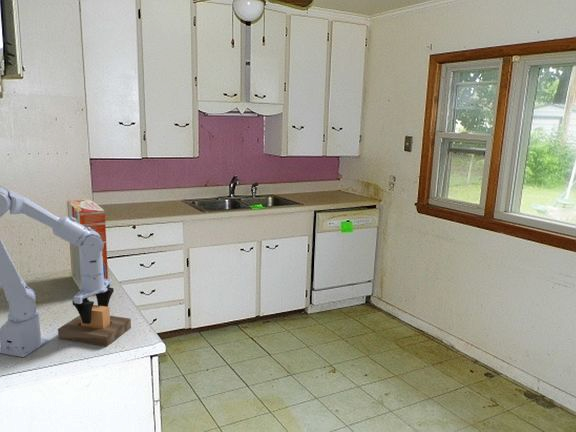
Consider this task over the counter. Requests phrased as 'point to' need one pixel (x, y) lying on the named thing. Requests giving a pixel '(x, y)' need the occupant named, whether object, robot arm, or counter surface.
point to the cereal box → (88, 217)
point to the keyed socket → (94, 331)
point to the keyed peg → (99, 317)
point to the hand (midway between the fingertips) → (95, 317)
